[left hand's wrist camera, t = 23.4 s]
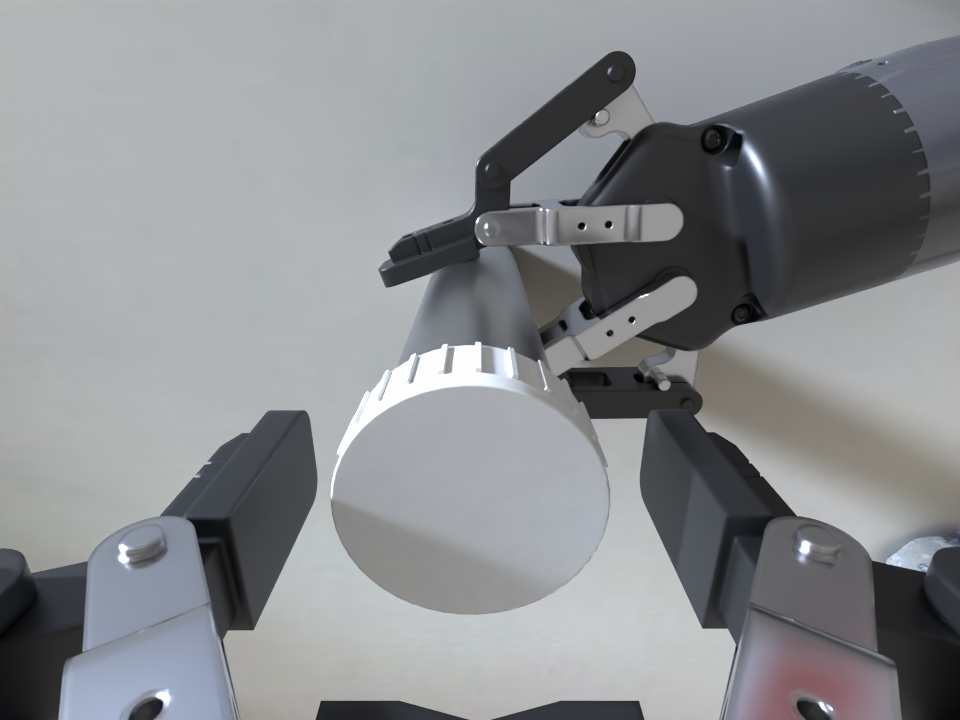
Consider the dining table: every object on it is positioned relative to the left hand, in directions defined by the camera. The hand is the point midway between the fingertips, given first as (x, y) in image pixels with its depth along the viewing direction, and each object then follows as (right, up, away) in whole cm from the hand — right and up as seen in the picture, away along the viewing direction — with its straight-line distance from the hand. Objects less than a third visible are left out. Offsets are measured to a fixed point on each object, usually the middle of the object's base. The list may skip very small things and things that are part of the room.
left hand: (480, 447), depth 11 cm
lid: (0, -1, -2) cm, 2 cm away
